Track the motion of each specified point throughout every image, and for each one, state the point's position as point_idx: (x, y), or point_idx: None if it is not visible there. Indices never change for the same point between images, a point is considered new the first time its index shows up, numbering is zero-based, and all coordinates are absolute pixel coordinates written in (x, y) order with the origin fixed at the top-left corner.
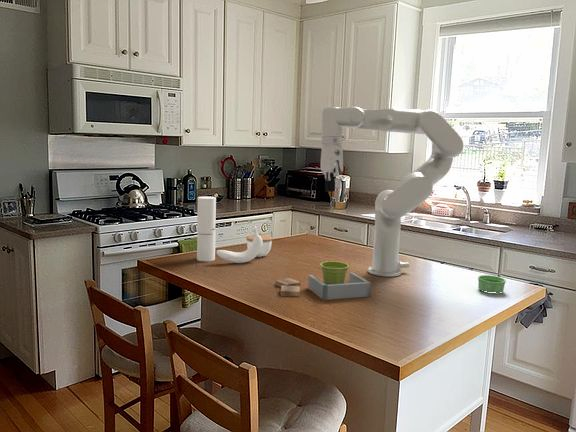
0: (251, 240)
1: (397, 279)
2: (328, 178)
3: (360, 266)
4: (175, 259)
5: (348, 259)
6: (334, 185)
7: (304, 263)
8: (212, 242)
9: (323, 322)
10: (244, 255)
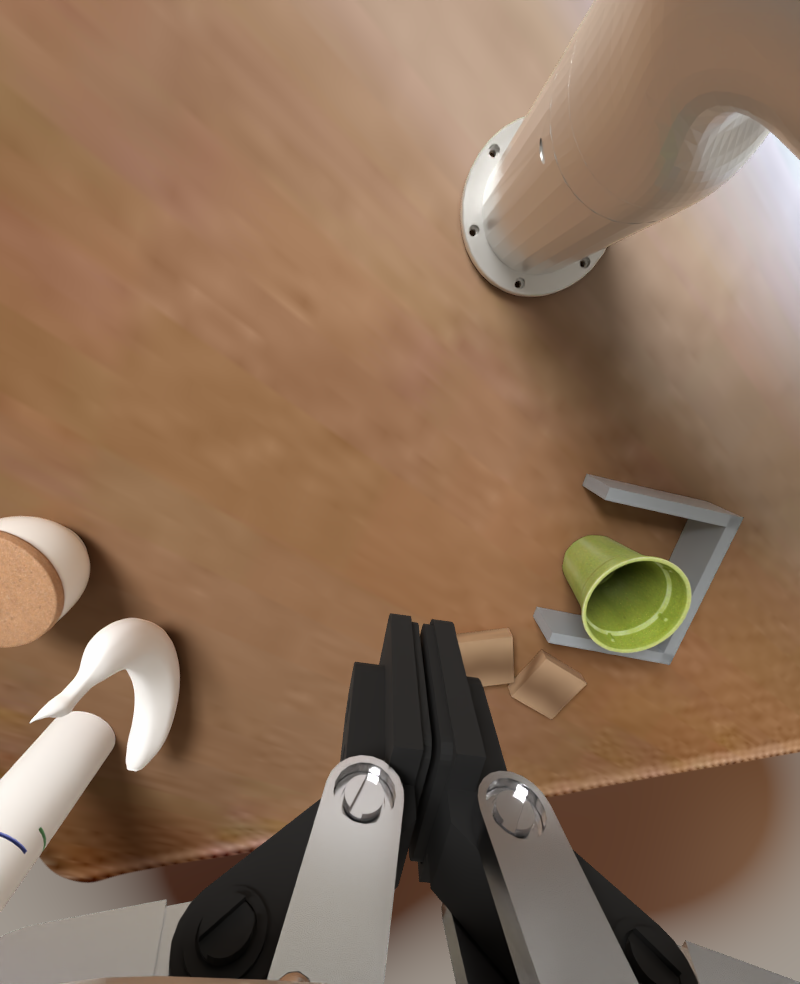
0: (35, 639)
1: (640, 243)
2: (459, 931)
3: (394, 240)
4: None
5: (251, 194)
6: (466, 689)
7: (251, 454)
8: (65, 790)
9: (753, 716)
10: (166, 676)
